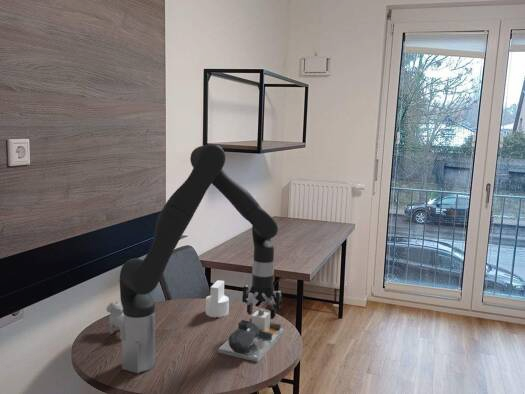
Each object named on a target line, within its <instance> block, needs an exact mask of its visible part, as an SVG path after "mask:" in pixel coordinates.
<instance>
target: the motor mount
mask: <svg viewBox="0 0 525 394" xmlns="http://www.w3.org/2000/svg"><path fill="white" fill-rule="evenodd" d="M237 324H238V328H236V329H235V330H234V331H233V332H232V333H231V334H230V335H229V337H228V339H227V340H226V341H225V342H224V343H223V344H222V345H220V346H219V348H218V354H223V355H227V356H232V357H236V358H240V359H245V360H247V361H252V362H256V363H258V362H259V361H260V360H261V359H262V358H263V357H264V355H266V353H267V352H268V351H269V350H270V349H271V348H272V347H273V346H274V344H275V343H276V342H277V341H278V340H279V339H278V338H280V337H281V336H283V334H284V331H285V330H284V328H282V324H281V323H277V322H273V321H270V329H269V330H268V331H262V330H258V328H257V326H256V325H255V324H253V323H252V317H250V318H249V321H248V320H246V319H245V320H244V319H242V320H241V321H239V322H238V323H237Z"/></svg>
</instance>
